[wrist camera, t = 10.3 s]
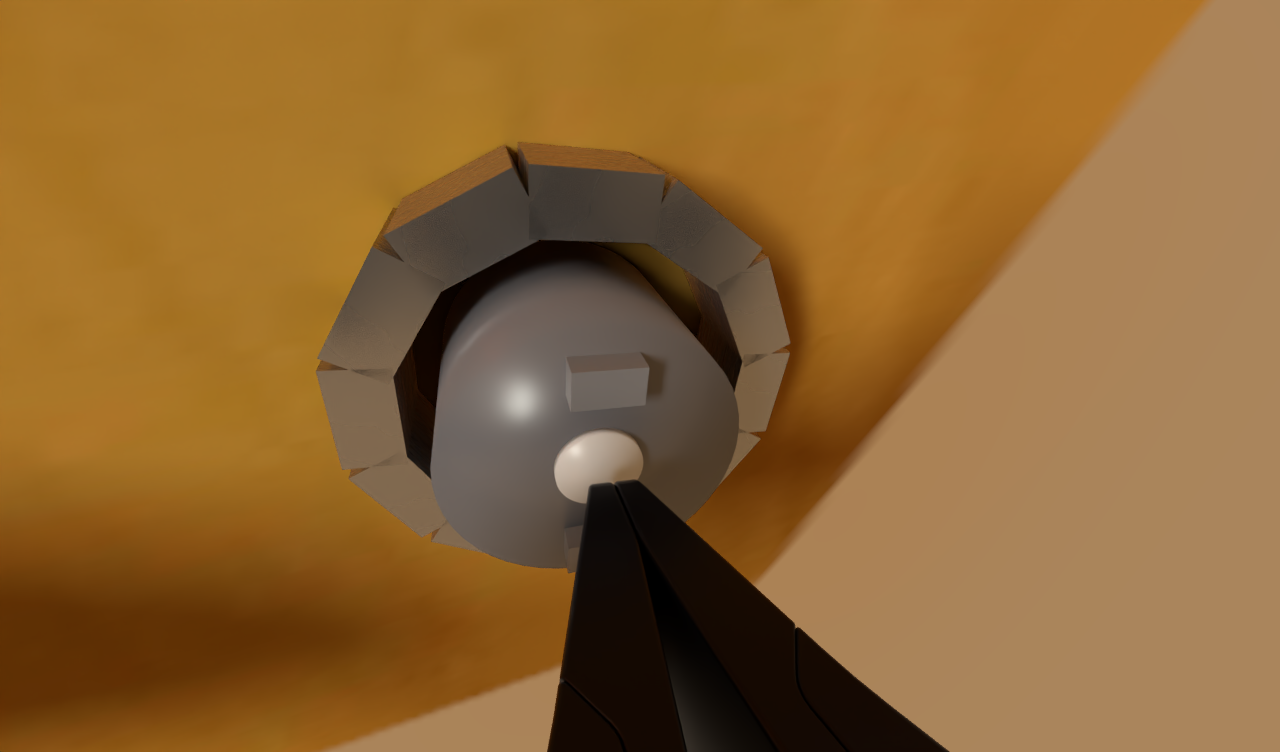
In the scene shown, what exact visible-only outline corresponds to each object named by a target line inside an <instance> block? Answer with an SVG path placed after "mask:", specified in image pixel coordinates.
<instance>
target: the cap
mask: <svg viewBox="0 0 1280 752" xmlns="http://www.w3.org/2000/svg"><path fill="white" fill-rule="evenodd" d="M738 433H739V412H738V406H737V400H736V397H735V394H734V391H733V388H732V386H731V384H730V382H729V380H728V378H727V376H726V374H725V373H724V372H723V370H722V369H721V368H720V366H719V365H718V364H717V363H716V361H715V360H714V359H713V358H712V357H711V355H710V354H709V353H708V352H707V351H706V349H705V348H704V347H703V346H702V345H701V344H700V342H699V341H698V340H697V339H696V338H695V336H694V335H693V334H692V333H691V332H690V331H689V329H688V328H687V327H686V326H685V325H684V323H683V322H682V321H681V320H680V319H679V318H678V316H677V315H676V314H675V313H674V312H673V310H672V309H671V308H670V307H669V306H668V305H667V303H666V302H665V301H664V300H663V299H662V297H661V296H660V295H659V294H658V293H657V292H656V290H655V289H654V288H653V287H652V286H651V284H650V283H649V282H648V281H647V280H646V279H645V277H644V276H643V275H642V274H641V273H640V272H639V271H638V270H637V269H636V268H635V267H634V266H633V265H632V264H631V263H629V262H628V261H626V260H625V259H624V258H622V257H621V256H619V255H617V254H615V253H613V252H611V251H609V250H607V249H605V248H602V247H599V246H597V245H594V244H590V243H585V242H580V241H566V240H545V241H539V242H534V243H533V244H531V245H529V246H527V247H525V248H523V249H521V250H519V251H517V252H516V253H514V254H512V255H510V256H508V257H506V258H504V259H502V260H500V261H498V262H497V263H495V264H493V265H491V266H489V267H487V268H485V269H483V270H481V271H480V272H478V273H476V274H474V275H472V276H471V277H470V278H469V279H468V281H467V282H466V283H465V284H464V285H463V286H462V288H461V289H460V291H459V293H458V294H457V296H456V297H455V299H454V301H453V303H452V305H451V308H450V310H449V312H448V315H447V319H446V323H445V326H444V334H443V344H442V354H441V365H440V375H439V385H438V395H437V405H436V416H435V426H434V436H433V446H432V456H431V467H430V470H431V482H432V488H433V491H434V495H435V498H436V501H437V503H438V506H439V508H440V510H441V512H442V514H443V516H444V517H445V518H446V520H447V521H448V522H449V524H450V525H451V526H452V528H453V529H454V530H455V531H456V532H457V533H458V534H459V535H460V536H461V537H462V538H464V539H465V540H466V541H468V542H469V543H470V544H472V545H473V546H475V547H476V548H477V549H479V550H481V551H483V552H485V553H487V554H489V555H491V556H493V557H496V558H499V559H502V560H504V561H507V562H511V563H515V564H519V565H523V566H531V567H538V568H567V569H568V573H572V572H576V567H577V561H578V554H579V548H580V541H581V534H582V528H583V521H584V514H585V508H586V501H587V495H588V488H589V486H590V485H591V484H597V483H605V482H611V483H613V484H614V483H615V482H617V481H623V480H632V479H636V480H638V481H640V482H641V483H642V484H643V485H644V486H646V487H647V488H648V489H649V490H650V491H651V492H652V493H653V494H654V495H655V496H656V497H658V498H659V499H660V500H661V501H662V502H663V503H664V504H665V505H666V506H667V507H668V508H670V509H671V510H672V511H673V512H674V513H675V514H676V515H677V516H678V517H679V518H680V519H682V520H683V521H684V522H686V521H687V520H688V519H689V518H690V517H691V516H692V515H693V514H695V513H696V512H697V511H698V510H699V509H700V508H701V507H702V505H703V504H704V503H705V502H706V501H707V500H708V499H709V498H710V496H711V495H712V494H713V492H714V491H715V490H716V488H717V487H718V485H719V484H720V482H721V480H722V479H723V477H724V475H725V474H726V472H727V469H728V467H729V465H730V463H731V461H732V458H733V455H734V451H735V448H736V445H737V439H738Z"/></svg>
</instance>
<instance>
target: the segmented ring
mask: <svg viewBox="0 0 1280 752" xmlns="http://www.w3.org/2000/svg"><path fill="white" fill-rule="evenodd" d="M538 240H566V241H595V242H624V243H647V244H648V245H650V246H651V247H653V248H654V249H656V250H657V251H658V252H660V253H661V254H663V255H664V256H666V257H667V258H669V259H670V260H672V261H673V262H674V263H676V264H677V265H679V266H680V267H682V268H683V269H684V272H685V274H686V277H687V279H688V282H689V285H690V287H691V290H692V292H693V295H694V298H695V300H696V303H697V305H698V308H699V311H700V313H701V319H700V324H699V329H698V334H697V340H698V341H699V342H700V344H701V345H702V346H703V347H704V348H705V349H706V351H707V352H708V353H709V354H710V355H711V357H712V358H713V359H714V360H715V361H716V363H717V364H718V365H719V366H720V368H721V369H722V370H723V372H724V373H725V374H726V376H727V378H728V380H729V382H730V384H731V386H732V388H733V391H734V394H735V397H736V400H737V406H738V412H739V433H738V439H737V445H736V448H735V451H734V455H733V458H732V461H731V463H730V465H729V467H728V469H727V472H726V474H725V475H724V477H723V479H722V480H721V482H722V481H723V480H724V479H725V478H726V477H727V476H728V475H729V474H730V473H731V471H732V470H733V469H734V468H735V467H736V466H737V465H738V464H739V463H740V461H741V460H742V459H743V458H744V457H745V456H746V455H747V454H748V453H749V452H750V450H751V449H752V448H753V447H754V446H755V445H756V444H757V443H758V442H759V440H760V439H761V438H760V437H759V436H758V434H757V433H756V432H760V431H766V428H767V425H768V422H769V419H770V416H771V412H772V409H773V406H774V403H775V400H776V396H777V393H778V390H779V387H780V384H781V381H782V377H783V374H784V371H785V368H786V365H787V361H788V358H789V355H790V352H789V351H788V350H787V349H786V348H784V347H785V346H786V345H788V344H790V339H789V335H788V331H787V327H786V323H785V319H784V315H783V311H782V308H781V304H780V300H779V296H778V292H777V288H776V284H775V280H774V276H773V273H772V269H771V265H770V261H769V257H767V256H766V255H764V254H763V253H761V252H760V251H761V250H762V249H763V248H762V247H761V246H759V245H758V244H757V243H756V242H755V241H753V240H752V239H751V238H750V237H748V236H747V235H746V234H745V233H743V232H742V231H741V230H740V229H738V228H737V227H736V226H735V225H734V224H732V223H731V222H730V221H729V220H727V219H726V218H725V217H724V216H722V215H721V214H720V213H719V212H717V211H716V210H715V209H714V208H713V207H711V206H710V205H709V204H708V203H706V202H705V201H704V200H703V199H701V198H700V197H699V196H698V195H696V194H695V193H694V192H693V191H692V190H690V189H689V188H688V187H687V186H685V185H684V184H683V183H682V182H680V181H679V180H678V179H676V178H674V177H673V176H671V175H669V174H668V173H666V172H664V171H663V170H661V169H659V168H658V167H656V166H654V165H653V164H651V163H649V162H647V161H646V160H644V159H642V158H641V157H639V158H637V157H635V156H634V155H632V154H630V153H629V152H620V151H609V150H598V149H587V148H576V147H565V146H555V145H544V144H533V143H522V142H518V168H517V167H516V165H515V163H514V161H513V159H512V157H511V156H510V154H509V152H508V150H507V148H506V146H505V145H503V146H501V147H499V148H497V149H496V150H494V151H492V152H490V153H488V154H486V155H484V156H482V157H480V158H478V159H477V160H475V161H473V162H471V163H469V164H467V165H465V166H463V167H461V168H460V169H458V170H456V171H454V172H452V173H450V174H448V175H446V176H444V177H443V178H441V179H439V180H437V181H435V182H433V183H431V184H429V185H427V186H426V187H424V188H422V189H420V190H418V191H416V192H414V193H412V194H410V195H409V196H407V197H405V198H403V199H402V201H401V202H400V204H399V206H398V208H397V209H395V208H393V210H392V211H391V213H390V215H389V217H388V219H387V221H386V222H385V224H384V226H383V228H382V230H381V231H380V233H379V235H378V237H377V239H376V241H375V242H374V244H373V246H372V248H371V250H370V252H369V254H368V256H367V258H366V260H365V262H364V264H363V266H362V268H361V270H360V272H359V274H358V276H357V278H356V280H355V282H354V285H353V287H352V289H351V291H350V293H349V295H348V297H347V299H346V301H345V303H344V305H343V307H342V309H341V311H340V313H339V315H338V317H337V319H336V321H335V323H334V325H333V327H332V329H331V331H330V333H329V335H328V337H327V339H326V341H325V343H324V346H323V348H322V350H321V352H320V354H319V356H318V358H317V359H320V360H321V362H320V364H319V366H318V368H317V370H316V373H317V377H318V381H319V384H320V388H321V392H322V396H323V400H324V403H325V407H326V411H327V415H328V418H329V422H330V426H331V430H332V433H333V437H334V441H335V445H336V448H337V452H338V456H339V460H340V463H341V467H342V470H345V469H351V472H350V476H349V480H351V481H352V482H353V483H354V484H356V485H357V486H358V487H359V488H361V489H362V490H363V491H364V492H366V493H367V494H368V495H369V496H371V497H372V498H373V499H374V500H376V501H377V502H378V503H379V504H381V505H382V506H383V507H384V508H386V509H387V510H388V511H389V512H391V513H392V514H393V515H394V516H396V517H397V518H398V519H399V520H401V521H402V522H403V523H404V524H406V525H407V526H408V527H409V528H411V529H412V530H413V531H414V532H416V533H417V534H418V535H419V536H421V537H423V536H425V535H427V534H429V533H431V532H432V538H431V542H435V543H440V544H445V545H450V546H454V547H459V548H464V549H468V550H473V551H478V552H483V551H481V550H479V549H477V548H476V547H475V546H473V545H472V544H470V543H469V542H468V541H466V540H465V539H464V538H462V537H461V536H460V535H459V534H458V533H457V532H456V531H455V530H454V529H453V528H452V526H451V525H450V524H449V522H448V521H447V520H446V518H445V517H444V516H443V514H442V512H441V510H440V508H439V506H438V503H437V501H436V498H435V495H434V491H433V488H432V482H431V470H430V467H431V456H432V446H433V436H434V426H435V416H436V408H435V407H434V406H433V405H432V404H431V403H430V402H429V401H428V400H427V398H426V397H425V396H424V395H423V394H422V393H421V392H420V391H419V390H418V383H417V376H416V369H415V362H414V355H413V348H412V342H413V341H414V339H415V337H416V335H417V334H418V332H419V330H420V328H421V326H422V325H423V323H424V321H425V319H426V318H427V316H428V314H429V312H430V310H431V309H432V307H433V305H434V303H435V301H436V300H437V298H438V296H439V294H440V293H441V292H442V291H444V290H445V289H447V288H449V287H451V286H453V285H455V284H457V283H459V282H461V281H462V280H464V279H466V278H468V277H470V276H472V275H474V274H476V273H478V272H480V271H481V270H483V269H485V268H487V267H489V266H491V265H493V264H495V263H497V262H498V261H500V260H502V259H504V258H506V257H508V256H510V255H512V254H514V253H516V252H517V251H519V250H521V249H523V248H525V247H527V246H529V245H531V244H533V243H534V242H536V241H538ZM721 482H720V484H721ZM720 484H719V485H720ZM719 485H718V486H719ZM483 553H485V552H483Z"/></svg>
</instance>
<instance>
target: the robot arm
mask: <svg viewBox="0 0 1280 752" xmlns="http://www.w3.org/2000/svg"><path fill="white" fill-rule="evenodd" d="M547 752H949V751H948V750H947V749H945V748H944V747H943V746H942V745H940V744H939V743H938V742H936V741H935V740H934V739H933V738H931V737H930V736H929V735H927V734H926V733H925V732H924V731H922V730H921V729H920V728H918V727H917V726H916V725H915V724H913V723H912V722H911V721H909V720H908V719H907V718H905V717H904V716H903V715H902V714H900V713H899V712H898V711H897V710H895V709H894V708H893V707H891V706H890V705H889V704H888V703H886V702H885V701H884V700H883V699H881V698H880V697H879V696H878V695H877V694H875V693H874V692H873V691H872V690H871V689H869V688H868V687H867V686H866V685H864V684H863V683H862V682H861V681H859V680H858V679H857V678H856V677H854V676H853V675H852V674H851V673H850V672H849V671H848V670H846V669H845V668H844V667H843V666H842V665H841V664H840V663H838V662H837V661H836V660H835V659H834V658H833V657H832V656H830V655H829V654H828V653H827V652H826V651H825V650H824V649H823V648H821V647H820V646H819V645H818V644H817V643H816V642H815V641H814V640H813V639H812V638H810V637H809V636H808V635H807V634H806V633H805V632H804V631H803V630H802V629H800V628H798V627H797V628H795V624H794V622H793V621H792V620H791V619H789V618H788V617H787V616H786V615H785V614H784V613H783V612H782V611H780V609H778V608H777V607H776V606H775V605H774V604H773V603H772V602H771V601H770V600H769V599H768V598H766V597H765V596H764V595H763V594H762V593H761V592H760V591H759V590H758V589H757V588H756V587H755V586H753V585H752V584H751V583H750V582H749V581H748V580H747V579H746V578H745V577H744V576H743V575H741V574H740V573H739V572H738V571H737V570H736V569H735V568H734V567H733V566H732V565H731V564H729V563H728V562H727V561H726V560H725V559H724V558H723V557H722V556H721V555H720V554H719V553H717V552H716V551H715V550H714V549H713V548H712V547H711V546H710V545H709V544H708V543H707V542H705V541H704V540H703V539H702V538H701V537H700V536H699V535H698V534H697V533H696V532H695V531H694V530H692V529H691V528H690V527H689V526H688V525H687V524H686V523H685V522H684V521H683V520H682V519H680V518H679V517H678V516H677V515H676V514H675V513H674V512H673V511H672V510H671V509H670V508H668V507H667V506H666V505H665V504H664V503H663V502H662V501H661V500H660V499H659V498H658V497H656V496H655V495H654V494H653V493H652V492H651V491H650V490H649V489H648V488H647V487H646V486H644V485H643V484H642V483H641V482H640V481H638V480H636V479H632V480H623V481H617V482H615V483H614V484H613V483H611V482H605V483H597V484H591V485H590V486H589V488H588V495H587V501H586V508H585V514H584V521H583V528H582V534H581V541H580V548H579V554H578V561H577V567H576V574H575V581H574V587H573V594H572V600H571V607H570V614H569V620H568V627H567V634H566V640H565V647H564V653H563V660H562V667H561V673H560V684H559V685H558V691H557V698H556V704H555V711H554V717H553V723H552V728H551V733H550V739H549V744H548V750H547Z"/></svg>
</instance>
